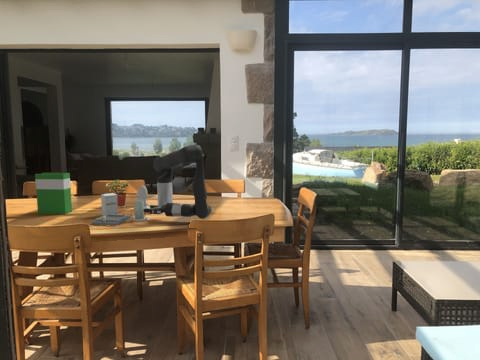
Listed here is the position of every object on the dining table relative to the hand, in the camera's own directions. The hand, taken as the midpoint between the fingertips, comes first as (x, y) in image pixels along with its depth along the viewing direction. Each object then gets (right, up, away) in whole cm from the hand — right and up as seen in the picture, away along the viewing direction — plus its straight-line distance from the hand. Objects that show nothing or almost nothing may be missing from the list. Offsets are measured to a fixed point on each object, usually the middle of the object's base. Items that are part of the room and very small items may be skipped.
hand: (147, 208), depth 222 cm
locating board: (-19, -7, -2) cm, 20 cm away
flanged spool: (-5, -6, +2) cm, 8 cm away
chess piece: (-11, -3, +31) cm, 33 cm away
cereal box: (-61, -4, +22) cm, 65 cm away
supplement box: (-25, -5, +14) cm, 29 cm away
